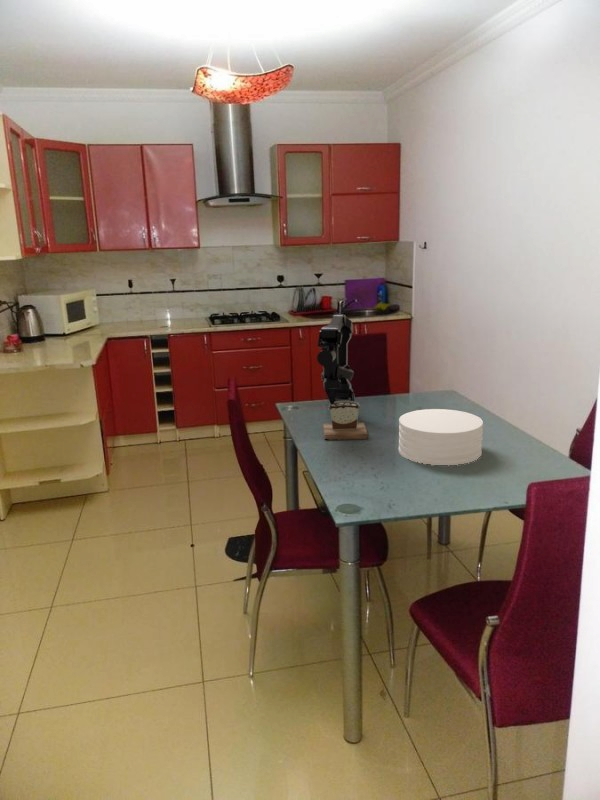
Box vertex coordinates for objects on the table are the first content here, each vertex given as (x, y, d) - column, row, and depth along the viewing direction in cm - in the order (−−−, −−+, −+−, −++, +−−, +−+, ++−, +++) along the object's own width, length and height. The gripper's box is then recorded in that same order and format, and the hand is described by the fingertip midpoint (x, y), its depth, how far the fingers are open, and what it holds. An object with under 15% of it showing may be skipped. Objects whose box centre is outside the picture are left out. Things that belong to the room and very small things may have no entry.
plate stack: (480, 441, 215) (482, 410, 212) (482, 469, 189) (483, 435, 186) (403, 436, 223) (403, 407, 220) (394, 463, 197) (394, 430, 194)
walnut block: (323, 428, 235) (323, 423, 234) (363, 427, 235) (363, 422, 234) (324, 440, 221) (324, 434, 221) (367, 438, 221) (367, 433, 221)
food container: (359, 424, 232) (359, 399, 230) (360, 429, 226) (360, 403, 224) (327, 425, 232) (327, 400, 230) (328, 430, 226) (328, 404, 224)
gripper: (354, 365, 212) (355, 407, 216) (349, 355, 230) (350, 394, 234) (323, 366, 212) (324, 408, 216) (321, 356, 230) (322, 395, 234)
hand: (331, 401), depth 225 cm, fingers open, 9 cm apart
